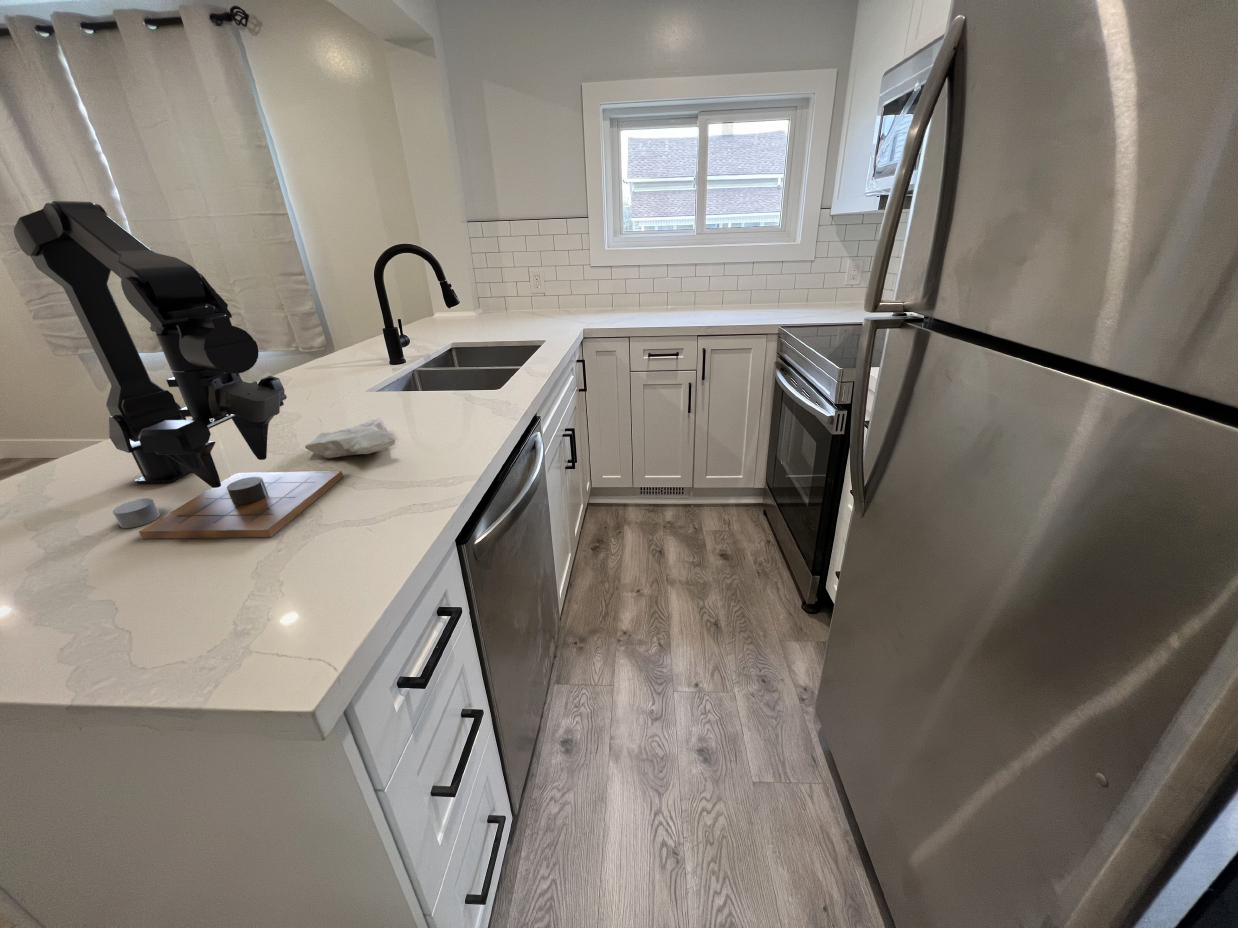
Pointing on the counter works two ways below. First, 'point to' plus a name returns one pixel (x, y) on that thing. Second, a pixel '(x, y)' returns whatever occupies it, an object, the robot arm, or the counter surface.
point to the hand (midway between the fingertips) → (241, 472)
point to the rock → (353, 440)
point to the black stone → (247, 490)
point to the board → (244, 508)
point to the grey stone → (136, 513)
